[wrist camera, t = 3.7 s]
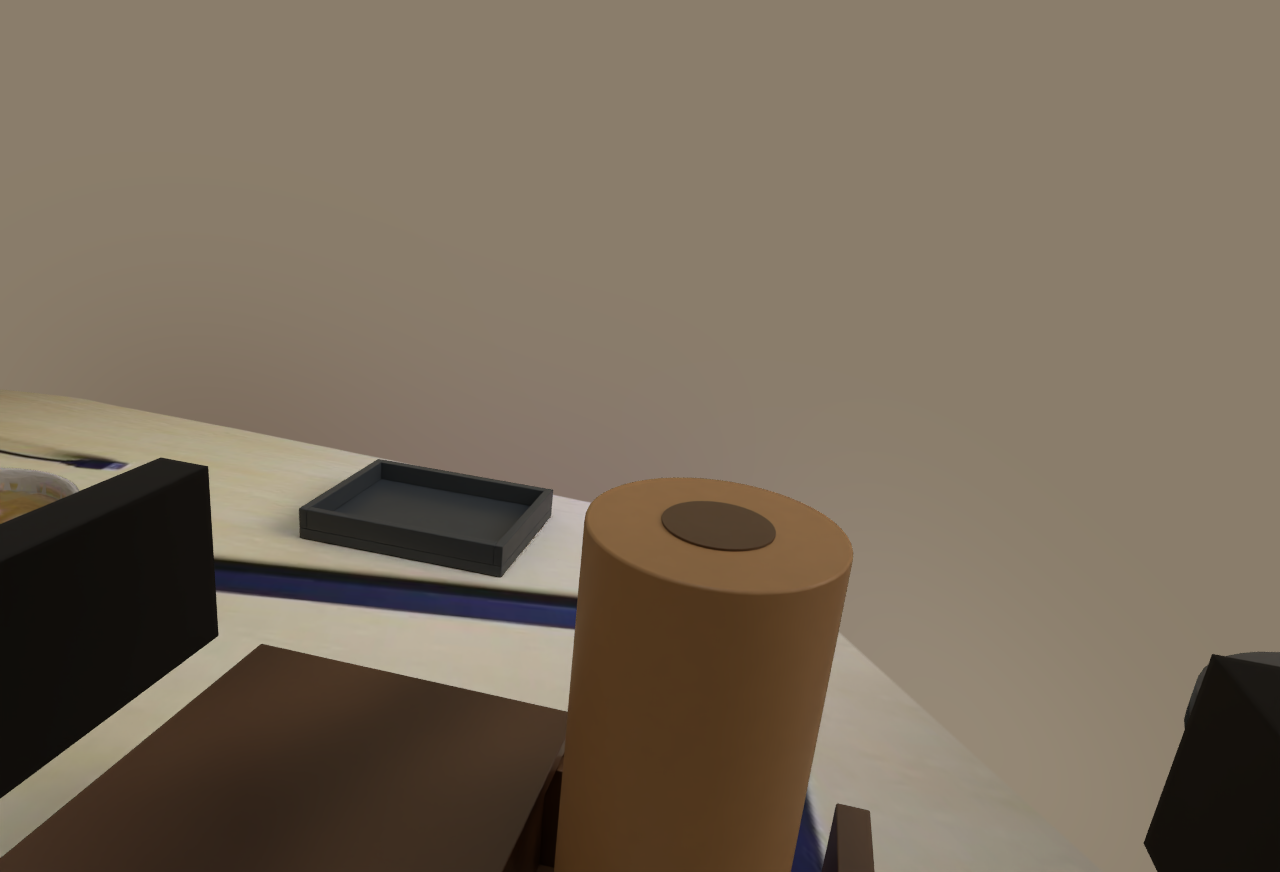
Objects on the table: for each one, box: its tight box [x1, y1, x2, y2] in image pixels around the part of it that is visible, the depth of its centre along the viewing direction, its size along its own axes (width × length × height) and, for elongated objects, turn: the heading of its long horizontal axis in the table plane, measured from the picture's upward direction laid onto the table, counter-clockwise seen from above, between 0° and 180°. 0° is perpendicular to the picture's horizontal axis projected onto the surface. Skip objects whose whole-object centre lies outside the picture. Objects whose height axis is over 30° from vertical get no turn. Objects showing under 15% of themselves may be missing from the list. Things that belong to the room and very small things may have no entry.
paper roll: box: [554, 478, 853, 872], centre depth 25 cm, size 7×7×17 cm
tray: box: [299, 459, 553, 577], centre depth 63 cm, size 15×11×2 cm
